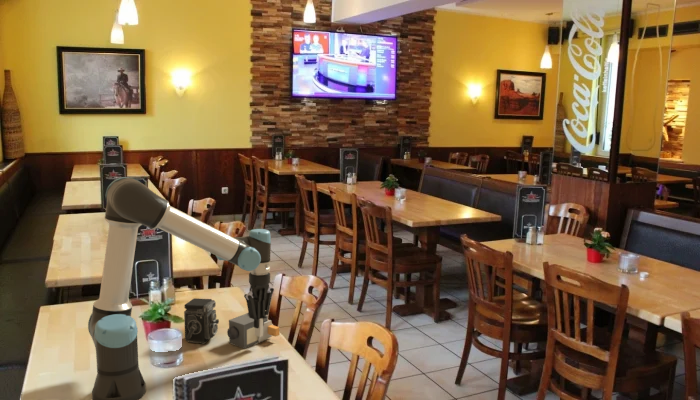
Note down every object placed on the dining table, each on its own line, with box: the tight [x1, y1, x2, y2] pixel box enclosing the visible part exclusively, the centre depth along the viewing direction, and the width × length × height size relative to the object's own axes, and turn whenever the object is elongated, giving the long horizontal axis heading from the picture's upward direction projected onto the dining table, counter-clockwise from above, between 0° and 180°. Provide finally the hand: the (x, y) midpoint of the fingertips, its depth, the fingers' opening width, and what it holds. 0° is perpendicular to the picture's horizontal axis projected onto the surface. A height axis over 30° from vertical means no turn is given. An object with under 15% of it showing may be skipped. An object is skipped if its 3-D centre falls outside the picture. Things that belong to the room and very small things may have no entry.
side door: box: [258, 319, 280, 343], centre depth 220 cm, size 6×5×6 cm
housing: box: [226, 311, 269, 350], centre depth 220 cm, size 14×8×10 cm, turn 144°
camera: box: [183, 297, 220, 344], centre depth 221 cm, size 10×10×15 cm
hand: (258, 335), depth 215 cm, fingers closed
